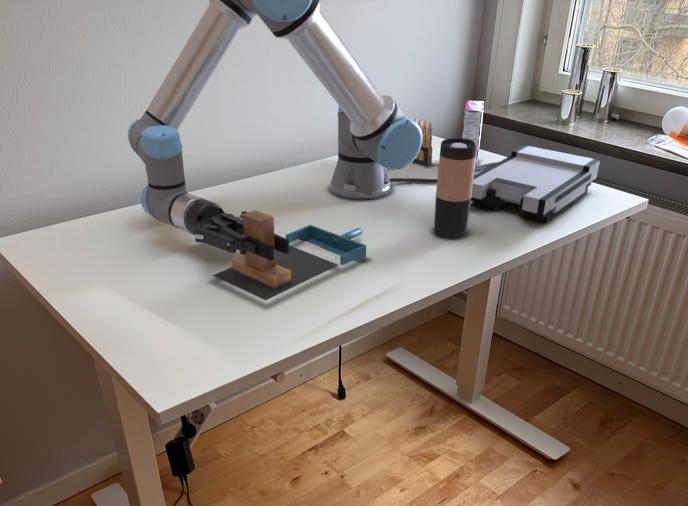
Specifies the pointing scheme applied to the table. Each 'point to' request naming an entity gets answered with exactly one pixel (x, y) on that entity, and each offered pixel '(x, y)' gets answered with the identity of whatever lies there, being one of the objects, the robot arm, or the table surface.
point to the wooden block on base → (258, 266)
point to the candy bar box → (473, 124)
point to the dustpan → (333, 242)
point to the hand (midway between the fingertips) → (279, 250)
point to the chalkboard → (295, 260)
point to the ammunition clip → (424, 145)
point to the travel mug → (454, 187)
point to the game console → (535, 182)
